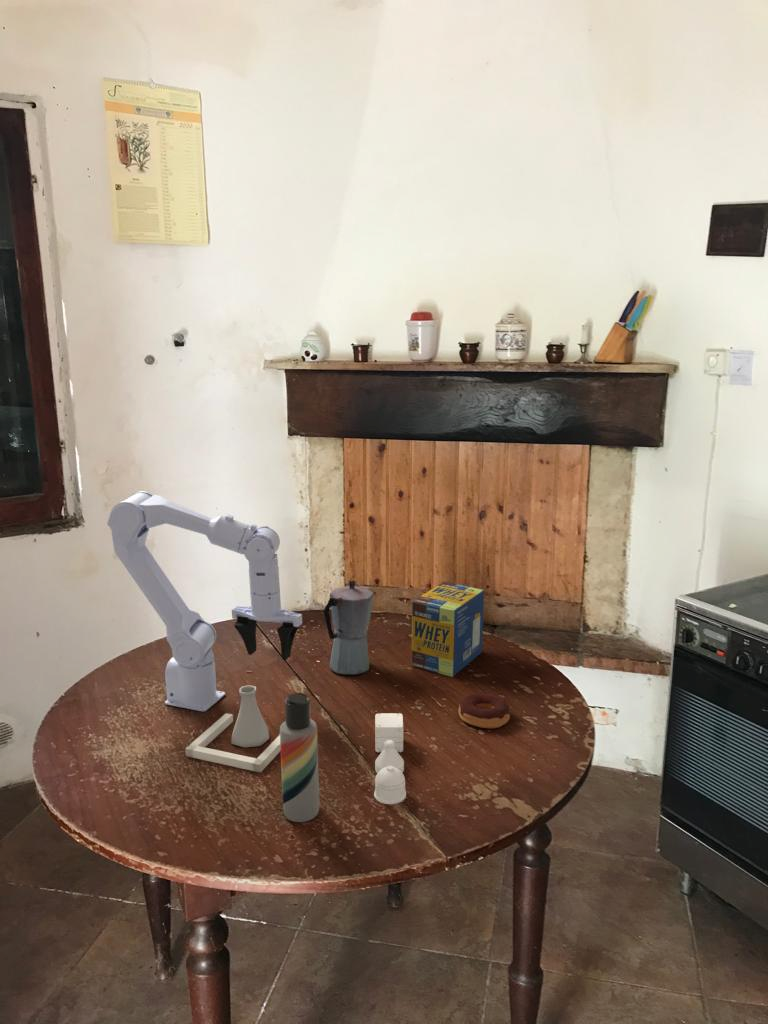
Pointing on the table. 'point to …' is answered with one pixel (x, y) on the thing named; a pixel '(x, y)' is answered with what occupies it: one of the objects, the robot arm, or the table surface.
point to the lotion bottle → (299, 760)
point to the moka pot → (349, 628)
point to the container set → (389, 758)
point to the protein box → (447, 628)
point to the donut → (484, 710)
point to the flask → (249, 721)
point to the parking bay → (235, 760)
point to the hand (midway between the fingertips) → (269, 655)
